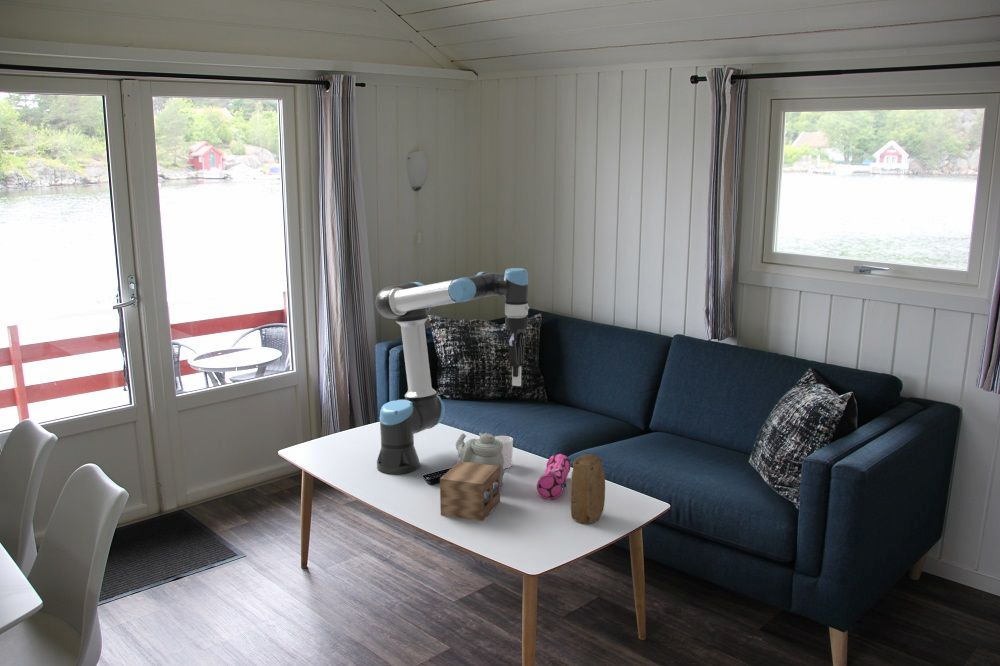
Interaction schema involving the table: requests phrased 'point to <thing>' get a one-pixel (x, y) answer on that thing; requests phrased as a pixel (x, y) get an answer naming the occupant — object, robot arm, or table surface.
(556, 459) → the pencil case
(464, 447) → the teapot
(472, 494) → the walnut block
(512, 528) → the table surface
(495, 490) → the far peg
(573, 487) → the block
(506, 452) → the white cup
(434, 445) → the table surface
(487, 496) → the near peg
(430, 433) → the table surface
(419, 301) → the robot arm
